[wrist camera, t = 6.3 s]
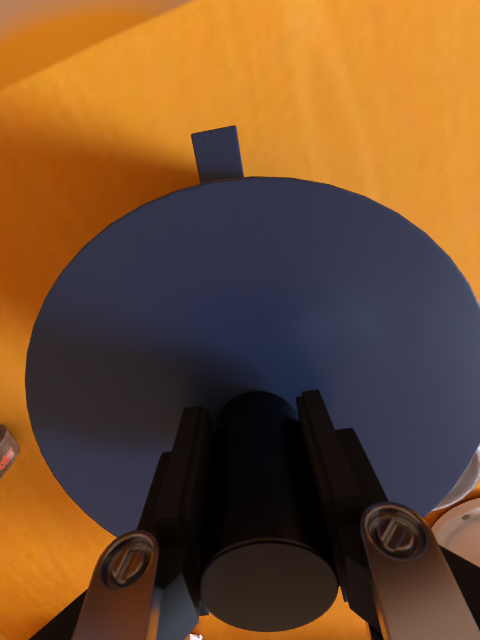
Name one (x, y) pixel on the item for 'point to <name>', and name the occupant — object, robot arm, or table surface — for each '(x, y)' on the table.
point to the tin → (7, 450)
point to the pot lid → (256, 372)
